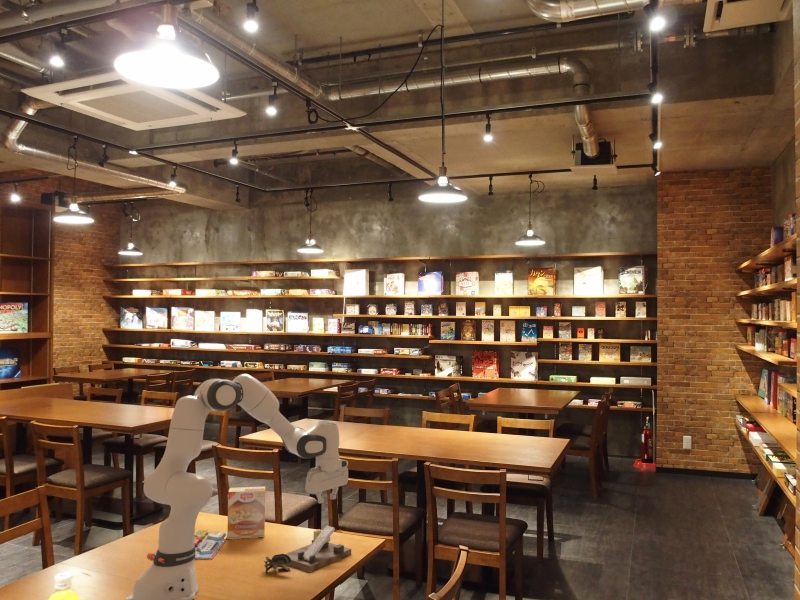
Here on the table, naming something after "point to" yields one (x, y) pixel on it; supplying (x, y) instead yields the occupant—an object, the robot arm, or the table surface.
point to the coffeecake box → (246, 512)
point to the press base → (318, 556)
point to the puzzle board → (207, 543)
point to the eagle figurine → (277, 562)
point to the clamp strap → (318, 542)
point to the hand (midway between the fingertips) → (326, 501)
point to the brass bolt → (318, 534)
